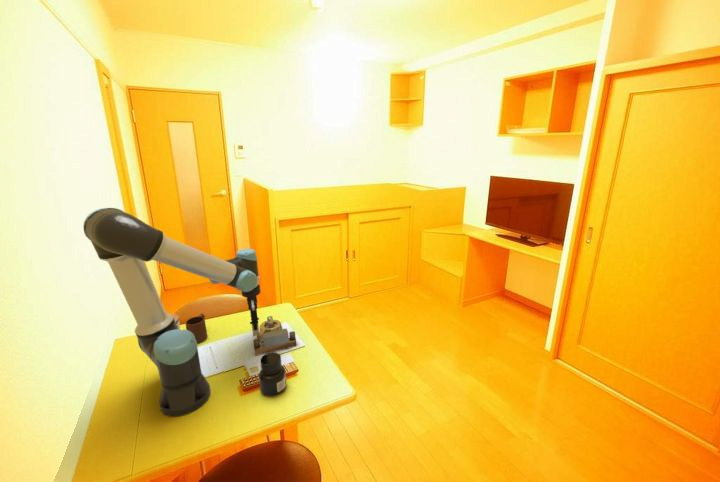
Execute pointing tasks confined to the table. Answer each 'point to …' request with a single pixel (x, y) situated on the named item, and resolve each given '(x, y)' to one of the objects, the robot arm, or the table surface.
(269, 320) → the nut station
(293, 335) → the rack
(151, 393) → the table surface
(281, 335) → the bar
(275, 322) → the golden ring with handle
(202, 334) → the mug
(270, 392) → the ink bottle
